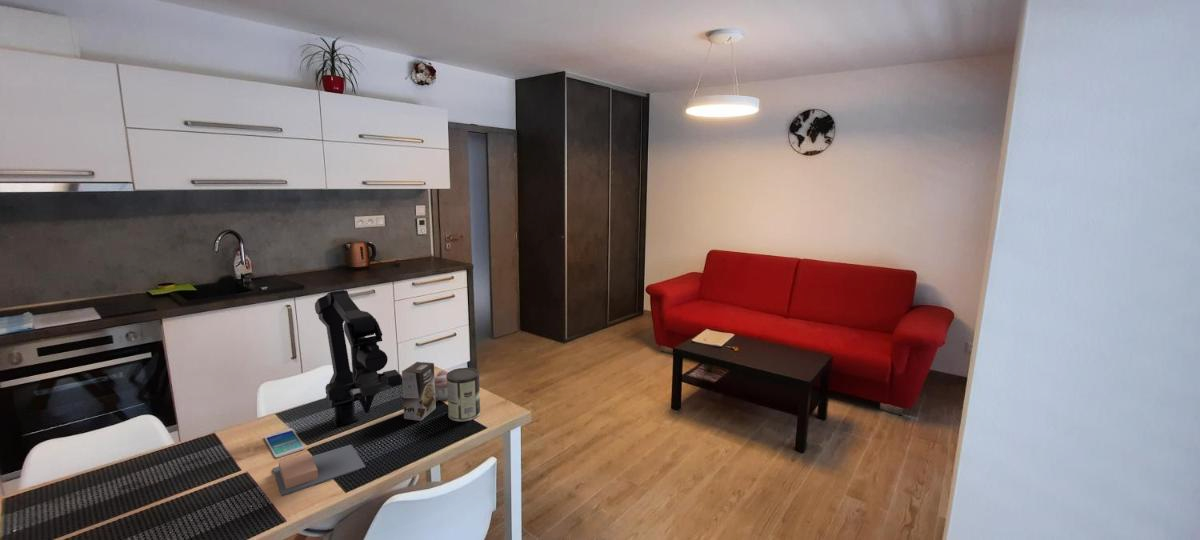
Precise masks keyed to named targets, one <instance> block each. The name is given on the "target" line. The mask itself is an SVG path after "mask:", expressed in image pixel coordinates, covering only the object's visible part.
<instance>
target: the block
mask: <svg viewBox="0 0 1200 540" xmlns="http://www.w3.org/2000/svg"><path fill="white" fill-rule="evenodd" d="M311 456H312V455H311V453H310V452H305V453H303V454H299V455H295V456H293V457H290V458H285V459H283V460H280V461H278V467H279V470H280V473H281V476H282V479H283V482H284V484H285V487H286V489H288V488H291V487H294V486H297V485H300V484H303V483H306V482H309V481H312V480H315V479H318V469H317V467H316V465H315V463H314V461H313V459H312V457H311Z"/></svg>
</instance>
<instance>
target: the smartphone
mask: <svg viewBox="0 0 1200 540" xmlns="http://www.w3.org/2000/svg"><path fill="white" fill-rule="evenodd" d="M263 437H264V440H265V443H266V445H267V446H268V447H269V449H270V451H271V453H272V454H273V457H274V458H275V459H280V458H284V457H286V456H290V455H293V454H296V453H299V452H303V451H304V450H306V446H305V444H304V443H303V441H302V440H301V438H300V437H299V436H298V434H297V433H296V431H295V430H294V429H293V428H291V427H290V428H287V429H284V430H280V431H277V432H274V433H270V434H268V435H265V436H263Z"/></svg>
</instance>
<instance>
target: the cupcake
mask: <svg viewBox="0 0 1200 540" xmlns="http://www.w3.org/2000/svg"><path fill="white" fill-rule="evenodd" d="M448 372H449V371H448V370H446V369H443V370H440V371H438V373H437V374H436V375H434V379H435V400H438V401H444V400H445V401H448V392H447V378H446V375H447V373H448Z"/></svg>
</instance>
